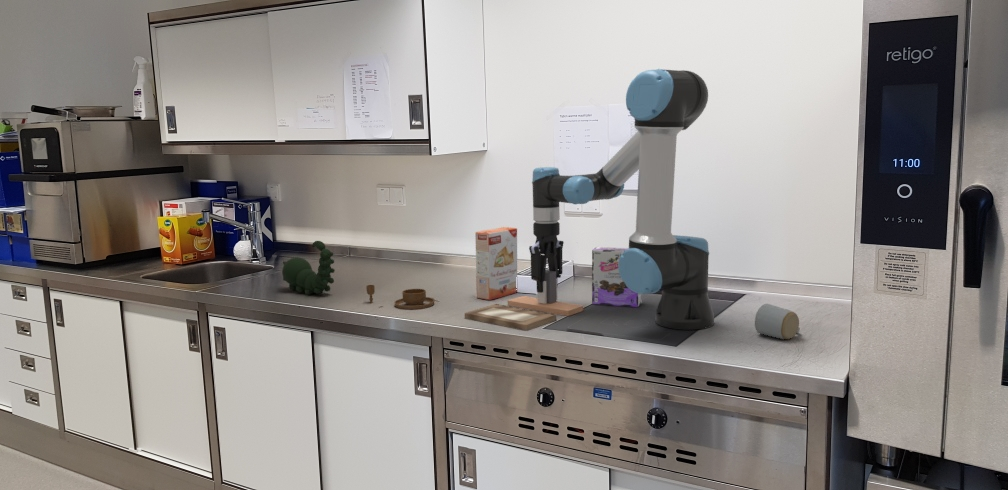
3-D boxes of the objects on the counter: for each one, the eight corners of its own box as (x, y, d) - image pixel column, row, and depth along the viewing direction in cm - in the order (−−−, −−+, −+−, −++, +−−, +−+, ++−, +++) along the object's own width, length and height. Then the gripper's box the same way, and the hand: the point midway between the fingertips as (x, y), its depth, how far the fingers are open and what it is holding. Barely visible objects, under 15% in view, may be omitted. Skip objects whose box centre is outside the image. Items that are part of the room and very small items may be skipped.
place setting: (401, 315, 218) (401, 295, 217) (363, 305, 232) (362, 286, 232) (449, 304, 230) (448, 285, 229) (409, 295, 244) (408, 277, 243)
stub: (583, 310, 216) (583, 274, 214) (568, 316, 210) (567, 278, 209) (523, 300, 230) (522, 266, 228) (507, 305, 225) (506, 270, 223)
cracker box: (490, 301, 231) (488, 232, 227) (475, 298, 234) (473, 231, 231) (519, 292, 241) (517, 227, 238) (504, 290, 245) (502, 226, 242)
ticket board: (556, 320, 206) (556, 314, 206) (526, 330, 197) (526, 324, 196) (495, 308, 221) (495, 303, 220) (464, 318, 211) (464, 312, 211)
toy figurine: (341, 298, 246) (295, 283, 262) (341, 241, 242) (294, 229, 258) (317, 304, 239) (271, 288, 255) (317, 245, 235) (270, 232, 251)
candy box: (591, 304, 223) (591, 249, 221) (596, 300, 229) (596, 246, 226) (638, 307, 218) (638, 251, 216) (642, 302, 224) (642, 247, 221)
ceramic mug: (783, 343, 180) (784, 311, 179) (753, 336, 187) (754, 305, 185) (808, 336, 186) (809, 305, 185) (778, 329, 193) (779, 299, 192)
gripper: (554, 217, 226) (555, 294, 230) (516, 224, 213) (518, 305, 217) (574, 219, 222) (575, 297, 225) (537, 226, 208) (539, 309, 212)
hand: (547, 301), depth 221 cm, fingers closed on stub, 4 cm apart
